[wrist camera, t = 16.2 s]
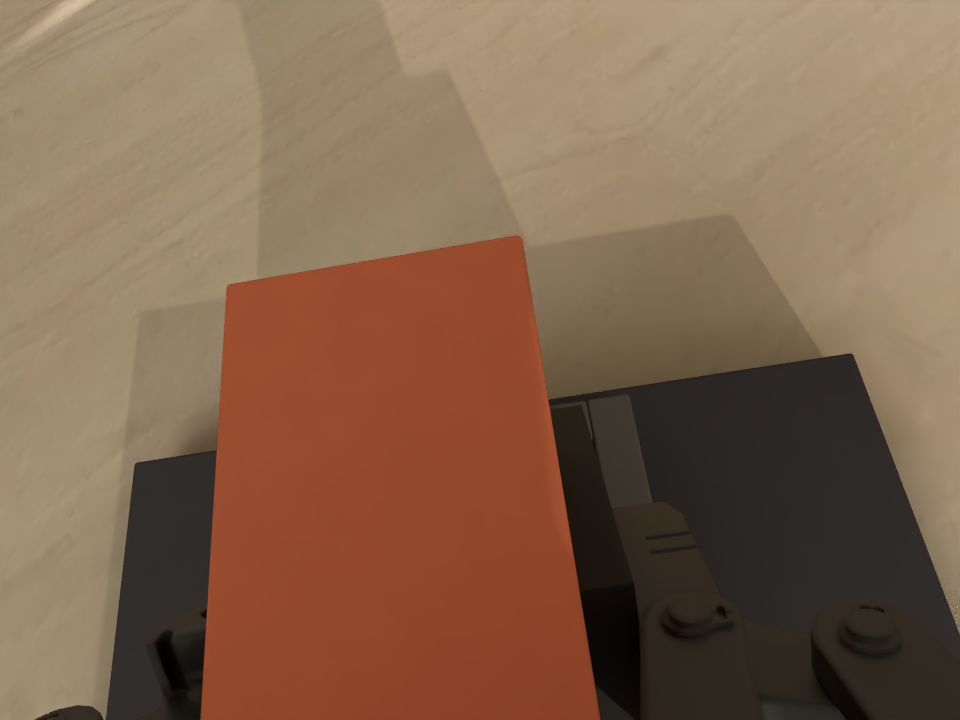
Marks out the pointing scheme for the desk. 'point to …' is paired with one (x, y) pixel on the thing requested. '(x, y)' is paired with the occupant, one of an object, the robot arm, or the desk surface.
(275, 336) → the orange rectangular block
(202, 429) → the desk surface
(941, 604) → the socket base
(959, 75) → the desk surface
